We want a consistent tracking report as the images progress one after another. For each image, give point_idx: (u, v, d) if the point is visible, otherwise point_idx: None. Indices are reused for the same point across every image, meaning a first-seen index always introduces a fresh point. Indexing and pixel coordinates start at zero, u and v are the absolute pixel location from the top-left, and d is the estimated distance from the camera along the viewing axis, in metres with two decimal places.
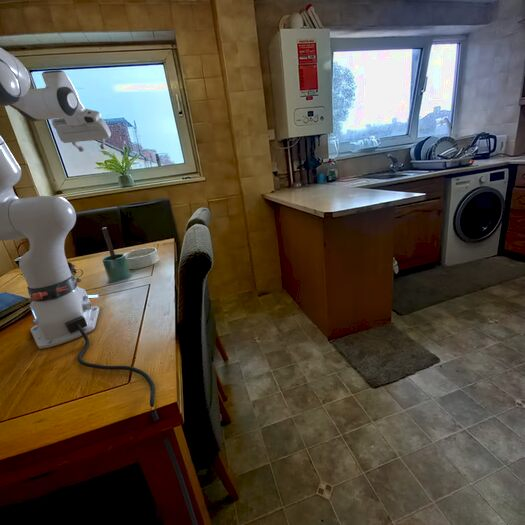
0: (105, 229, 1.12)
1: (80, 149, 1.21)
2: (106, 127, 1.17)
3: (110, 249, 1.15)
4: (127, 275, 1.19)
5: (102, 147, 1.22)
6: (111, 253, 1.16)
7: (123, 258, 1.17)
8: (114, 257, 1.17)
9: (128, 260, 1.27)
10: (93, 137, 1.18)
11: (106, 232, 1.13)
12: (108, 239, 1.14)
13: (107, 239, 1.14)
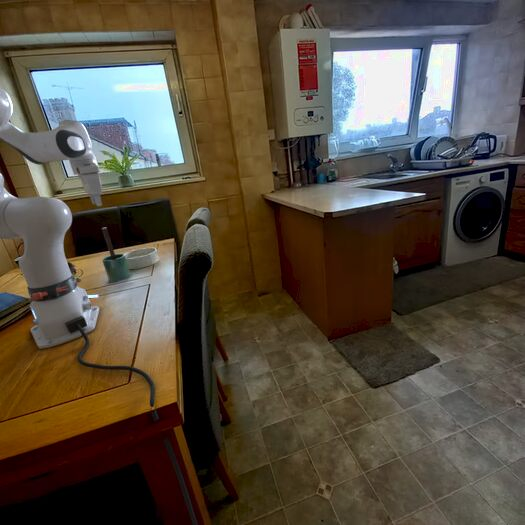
0: (105, 229, 1.12)
1: (92, 202, 1.13)
2: (94, 182, 1.00)
3: (110, 249, 1.15)
4: (127, 275, 1.19)
5: (96, 203, 1.06)
6: (111, 253, 1.16)
7: (123, 258, 1.17)
8: (114, 257, 1.17)
9: (128, 260, 1.27)
10: (88, 190, 1.05)
11: (106, 232, 1.13)
12: (108, 239, 1.14)
13: (107, 239, 1.14)
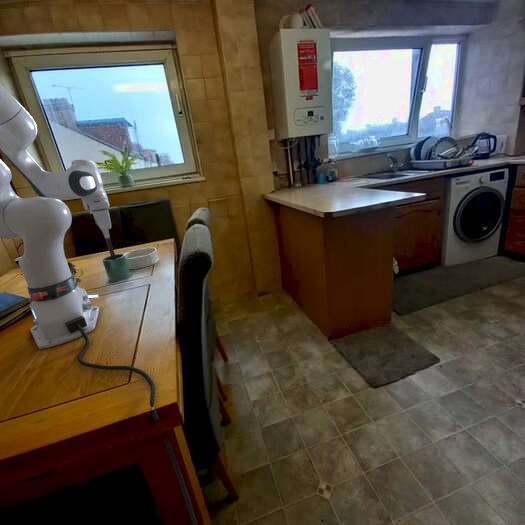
0: None
1: (103, 234, 1.14)
2: (103, 219, 1.03)
3: (110, 249, 1.15)
4: (127, 275, 1.19)
5: (104, 236, 1.12)
6: (111, 253, 1.16)
7: (123, 258, 1.17)
8: (114, 257, 1.17)
9: (128, 260, 1.27)
10: (98, 225, 1.08)
11: None
12: (108, 239, 1.14)
13: (107, 239, 1.14)
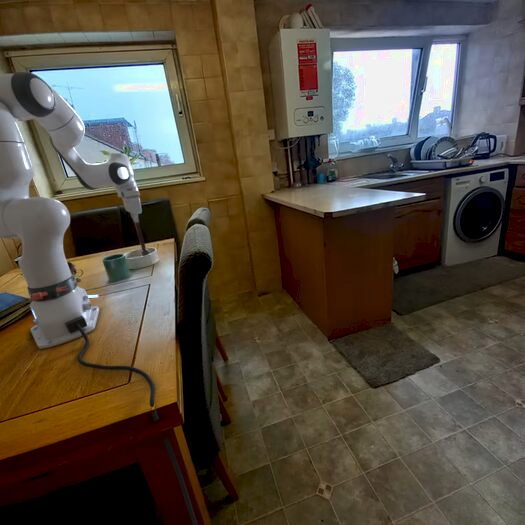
0: None
1: (133, 219, 1.30)
2: (135, 204, 1.19)
3: (139, 232, 1.31)
4: (127, 275, 1.19)
5: (134, 220, 1.28)
6: (139, 236, 1.31)
7: (123, 258, 1.17)
8: (142, 239, 1.32)
9: (128, 260, 1.27)
10: (130, 210, 1.24)
11: None
12: (137, 223, 1.30)
13: (136, 223, 1.29)
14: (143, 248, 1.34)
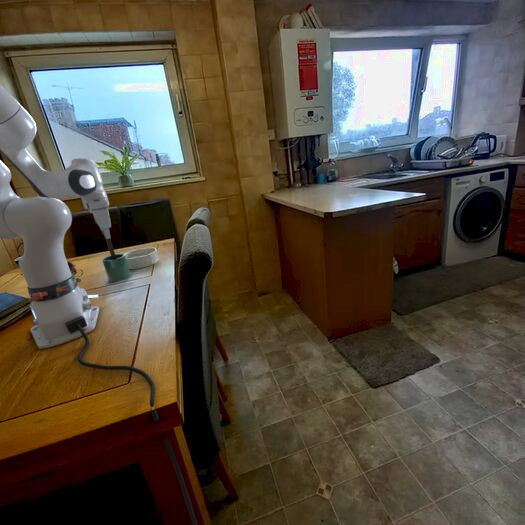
0: None
1: (102, 232, 1.17)
2: (103, 218, 1.03)
3: (110, 249, 1.15)
4: (127, 275, 1.19)
5: (105, 236, 1.09)
6: (111, 253, 1.16)
7: (123, 258, 1.17)
8: (114, 257, 1.17)
9: (128, 260, 1.27)
10: (98, 224, 1.08)
11: None
12: (108, 239, 1.14)
13: (107, 239, 1.14)
14: None
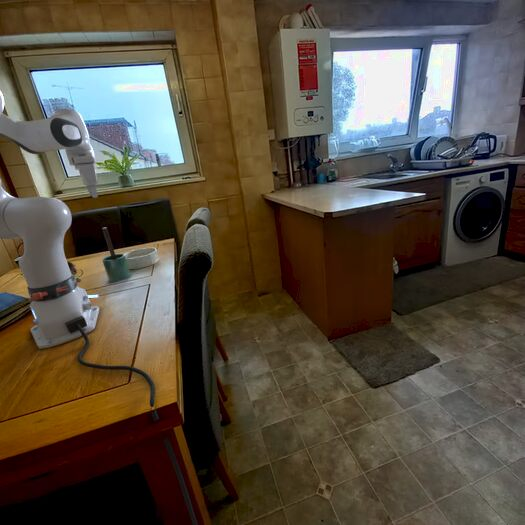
0: (105, 229, 1.12)
1: None
2: (89, 173, 0.98)
3: (110, 249, 1.15)
4: (127, 275, 1.19)
5: (91, 195, 1.04)
6: (111, 253, 1.16)
7: (123, 258, 1.17)
8: (114, 257, 1.17)
9: (128, 260, 1.27)
10: (84, 182, 1.03)
11: (106, 232, 1.13)
12: (108, 239, 1.14)
13: (107, 239, 1.14)
14: None
